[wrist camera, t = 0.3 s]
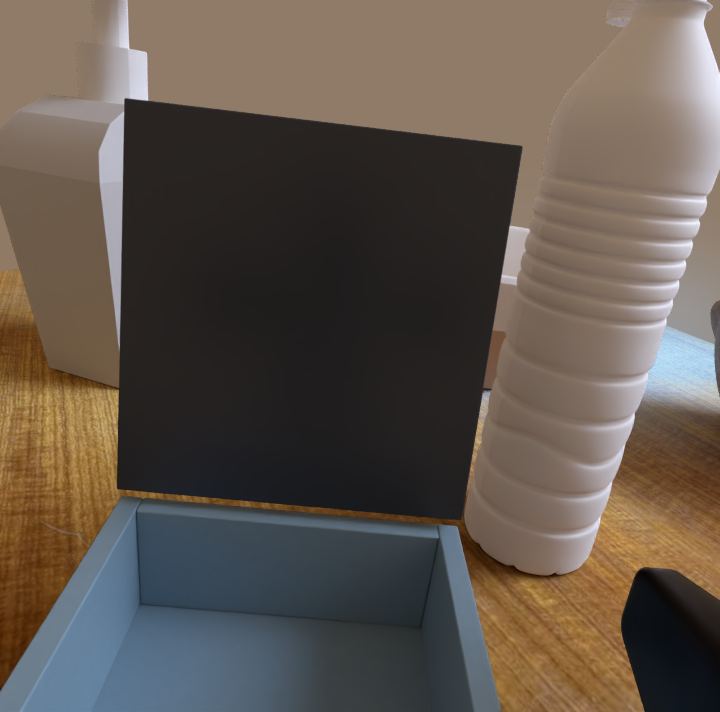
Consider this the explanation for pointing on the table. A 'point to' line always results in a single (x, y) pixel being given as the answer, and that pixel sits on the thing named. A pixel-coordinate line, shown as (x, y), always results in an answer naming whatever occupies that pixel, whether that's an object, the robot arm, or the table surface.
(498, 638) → the table surface
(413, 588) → the light blue box
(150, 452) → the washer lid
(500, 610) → the table surface
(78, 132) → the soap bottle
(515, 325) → the water bottle
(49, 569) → the table surface
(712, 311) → the mortar
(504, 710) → the table surface
